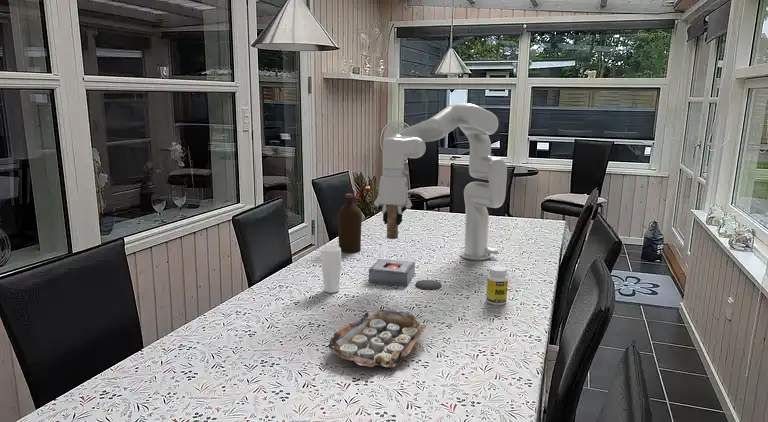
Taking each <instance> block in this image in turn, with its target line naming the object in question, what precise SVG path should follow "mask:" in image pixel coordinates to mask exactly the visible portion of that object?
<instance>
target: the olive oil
mask: <svg viewBox="0 0 768 422" xmlns="http://www.w3.org/2000/svg"><path fill="white" fill-rule="evenodd" d="M344 199H345V203H344V204H343V205H341V207H340V209H339V210H338V212H337V216H336V221H337V231H338V233H337V235H338V247H340V248H341V253H344V254H354V253H359V252H360V251H361V249H362V248H361V246H362V245H361V244H362V242H361V241H362V223H363V222H362V221H363V216H362V211H361V210H360V208H359V207H358V206H357V205H356V203H354V194H353V193H345V198H344Z"/></svg>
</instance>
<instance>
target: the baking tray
mask: <svg viewBox="0 0 768 422" xmlns="http://www.w3.org/2000/svg"><path fill="white" fill-rule="evenodd" d="M362 316H363V317H361V319H360V320H359V321H357V322H353V323H349V324H348V325H345V327H343V328H342V329H340V330H338V331H336V332H335V333H334V334H333V337H331V338H330V340H329V342H328V343H329V345H328V346H327V347H328V349H329V351H330V352H332V353H333V354H334V355H336V356H337V357H338V358H340V359H342V360H346V361H352V362H354V363H355V364H357V365H358V366H365V367H371V368H373V367H374V366H375V367H379V366H380V367H385V368H386V369H389V368H395V367H397V366H398V365H400V364H401V362H402V361H403V359H404V358H405V357H406V356H408V355H409V353H411V351H412V349H413V347H414V346H415V344H416V342H417V341H418V340H419V338H420V336H421V335H422V333H424V331H425V329H426V327H427V325H426V324H424V323H423V324H421V323H419V322H418V321H417V319H416V317H415V316H414V315H413V314H412V313H411V314H410V313H409V312H407V311H403V310H400V309H395V308H388V309H384V308H382V309H379V310H377V311H370V312H369V311H368V312H365V314H364V315H362ZM377 335H378V336H377ZM393 338H395V340H393ZM385 345H387V346H386V351H385ZM367 347H368V348H367ZM358 349H359V350H358ZM383 351H385V352H383ZM375 353H377V354H376V355H375Z"/></svg>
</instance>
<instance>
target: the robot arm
mask: <svg viewBox="0 0 768 422" xmlns="http://www.w3.org/2000/svg"><path fill="white" fill-rule="evenodd" d="M458 127H459V129H460V130H461V131H462V133H464V135H465V136H466V138H467V140H468V142H469V156H468V157H469V159H468V161H469V163H468V173H469V176H470V177H472V178H474V179H480V180H485V181H488V182H483V181H471V182H469V183H468V184H466V186H465V187H464V189H463V197H464V205H465V206H464V207H465V224H464V226H465V227H464V248H463V249H464V250H463V251H460V257H461V258H463V259H466V260H473V261H484V260H489V259H490V258H491V257H492V254H493V255H499V249H496V248H490V247H489V244H488V239H489V222H490V221H489V220H490V218H489V217H490V216H489V211H488V208H491V209H492V208H493V209H498V208H500V207H501V206H503V204H504V202H505V200H506V192H507V181H508V179H507V178H508V167H507V163H506V161H505V160H504V159H503V158H501V157H499V156H492V142H491V139H490V136H489V135H494V134H495V133H496V132H497V131H498V129H499V119H498V117H497V115H495V114H494V113H493V112H491V111H490V110H488V109H485V108H484V107H481V106H478V105H476V104H473V103H453V104H449V105H448V106H446V107H445V108H443V109H442V110H440V111H439V112H438V113H436V114H435V115H433V116H432V117H430V118H428V119H426V120H423V121H420V122H418V123H416V124H414V125H411V126H408V127H406V128H405V129H403V130H401V131H399V132H398V133H397V134H395V135H394V136H393V137H386V138H384V139H383V141H382V175H381V176H380V180H379V184H378V192H377V193H378V195H377V197H376V198H375V200H374V201H373V205H374V206H375V207H377V208H378V209H379V210H380V211H381V213H382V222H383V223H384V225H387V205H391V204H392V205H396V206H397V207H398V214H397V225H398V226H400V225H401V223H402V222H403V213H404V212H405V211H406V210H408V209H409V208H411V207H412V206H413V204H412V201H410V199H409V191H408V190H409V189H408V188H409V187H408V180H407V177H406V176H405V175H408V174H409V170H407V169H406V168H405V159H407V158H408V159H418V158H421V157H423V156H424V155H425V152H426V149H427V146H426V145H427V144H426V143H428V142H435V141H438V140H441V139H443V138H444V137H445V136H447V135H448V134H449V133H451V132H453V131H454V130H456V128H458Z"/></svg>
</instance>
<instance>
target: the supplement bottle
mask: <svg viewBox="0 0 768 422" xmlns="http://www.w3.org/2000/svg"><path fill="white" fill-rule="evenodd" d="M507 271H508V270H507V268H506V267H504V266H498V265H497V266H496V265H494V266H490V267H489V273H488V276H487V280H486V281H487V283H486V296H485V297H486V298H485V299H486V302H487V303H488V304H491V305H494V306H502V305H506V304H507V301H508V300H507V298H508V297H507V296H508V283H509V282H508V281H509V279H508V276H507Z"/></svg>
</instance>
